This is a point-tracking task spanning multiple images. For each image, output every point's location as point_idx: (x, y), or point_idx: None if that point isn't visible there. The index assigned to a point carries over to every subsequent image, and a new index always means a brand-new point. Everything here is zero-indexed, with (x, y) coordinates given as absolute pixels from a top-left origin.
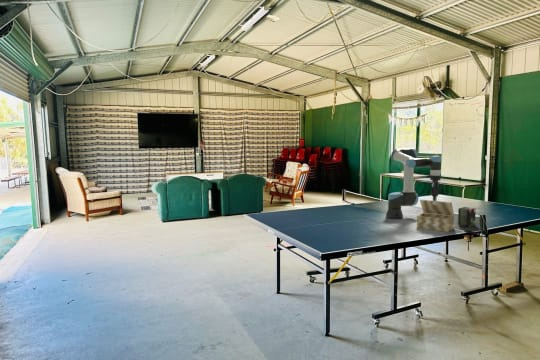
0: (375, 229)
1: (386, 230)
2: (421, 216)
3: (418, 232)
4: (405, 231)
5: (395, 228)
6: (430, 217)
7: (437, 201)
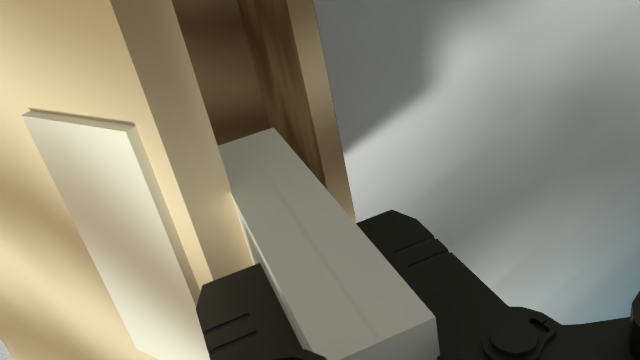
0: (610, 300)
1: (595, 237)
2: (351, 210)
3: (499, 9)
4: (538, 122)
5: (487, 258)
6: (324, 64)
7: (203, 192)
